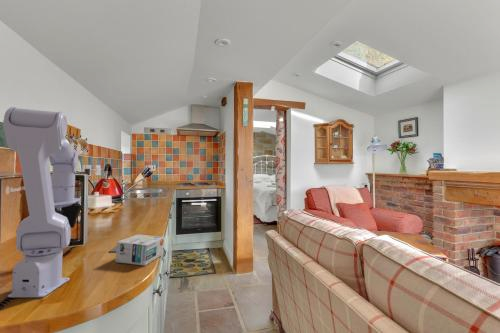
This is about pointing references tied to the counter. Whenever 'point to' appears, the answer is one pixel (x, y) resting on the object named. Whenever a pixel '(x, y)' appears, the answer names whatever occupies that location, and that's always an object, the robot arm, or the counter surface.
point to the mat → (113, 249)
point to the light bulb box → (139, 249)
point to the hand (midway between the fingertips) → (62, 230)
